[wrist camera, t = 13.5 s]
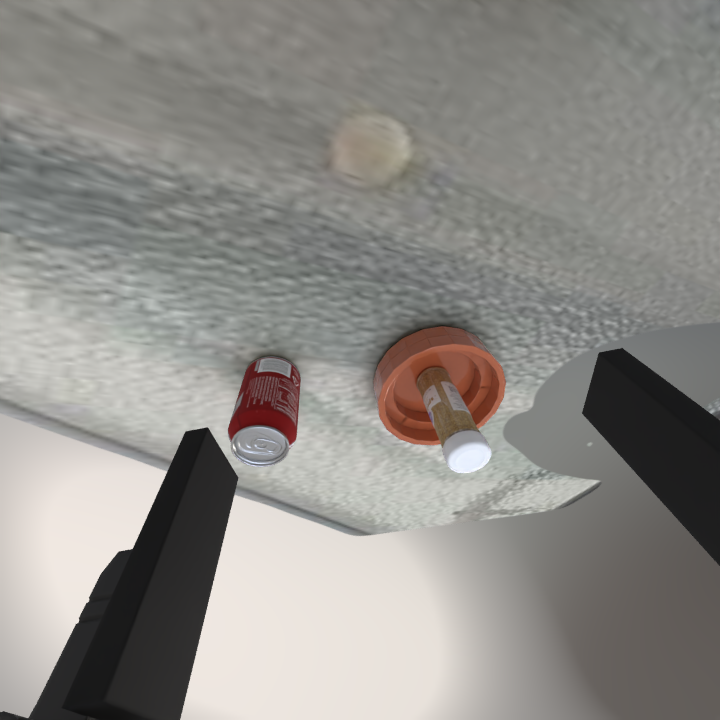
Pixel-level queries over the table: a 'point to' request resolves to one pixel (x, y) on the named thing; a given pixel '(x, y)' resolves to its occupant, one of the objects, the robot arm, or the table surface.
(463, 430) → the sprinkles bottle
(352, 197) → the table surface
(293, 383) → the soda can
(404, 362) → the bowl
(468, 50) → the table surface
